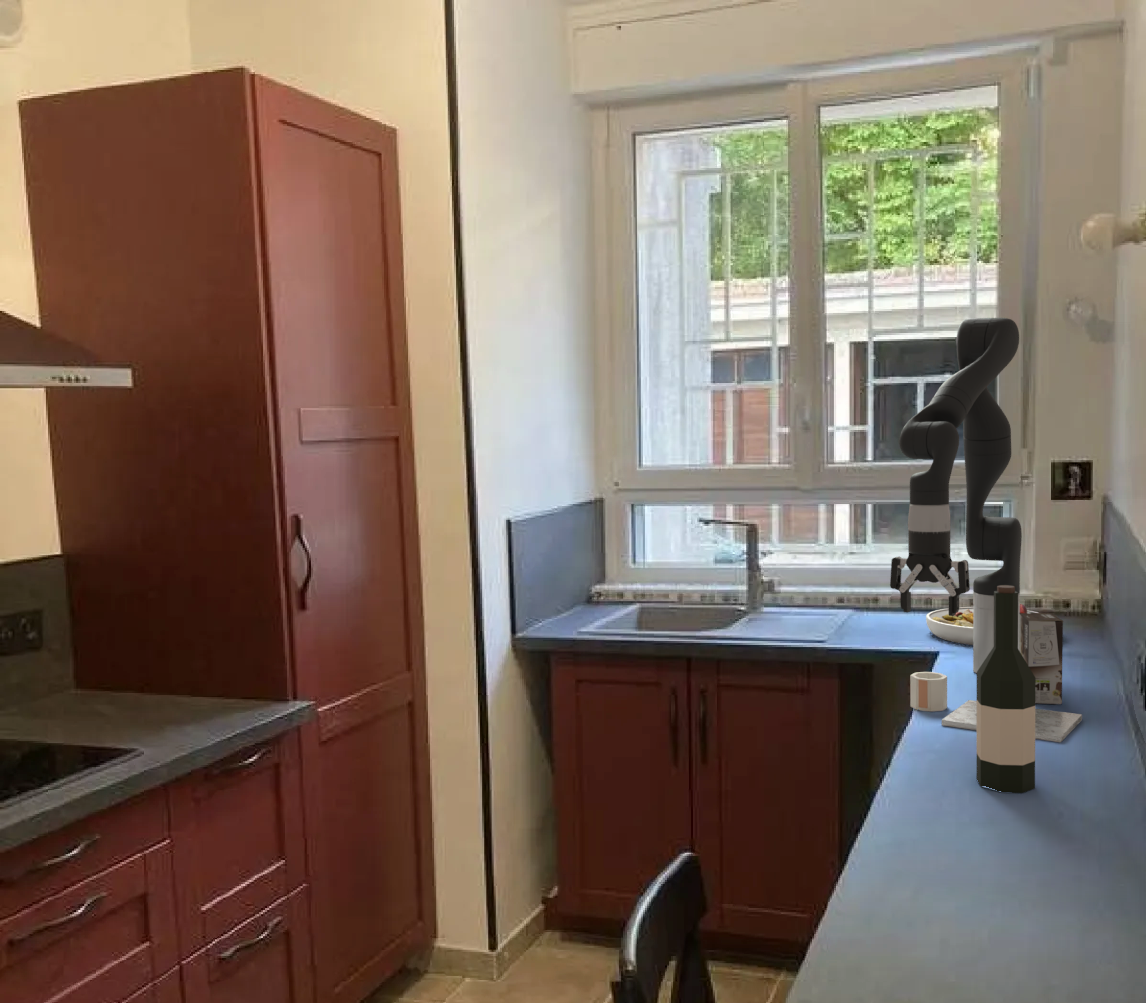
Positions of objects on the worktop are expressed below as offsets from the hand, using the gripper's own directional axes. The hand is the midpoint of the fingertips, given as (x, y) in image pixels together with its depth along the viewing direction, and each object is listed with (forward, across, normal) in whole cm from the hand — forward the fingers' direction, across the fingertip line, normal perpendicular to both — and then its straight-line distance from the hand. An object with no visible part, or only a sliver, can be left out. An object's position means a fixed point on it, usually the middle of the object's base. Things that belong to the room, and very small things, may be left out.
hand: (929, 613), depth 209 cm
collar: (+18, 0, 0) cm, 18 cm away
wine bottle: (+18, -24, +37) cm, 48 cm away
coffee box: (+18, -16, -17) cm, 30 cm away
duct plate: (+18, -16, +3) cm, 24 cm away
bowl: (+18, +9, -72) cm, 75 cm away
